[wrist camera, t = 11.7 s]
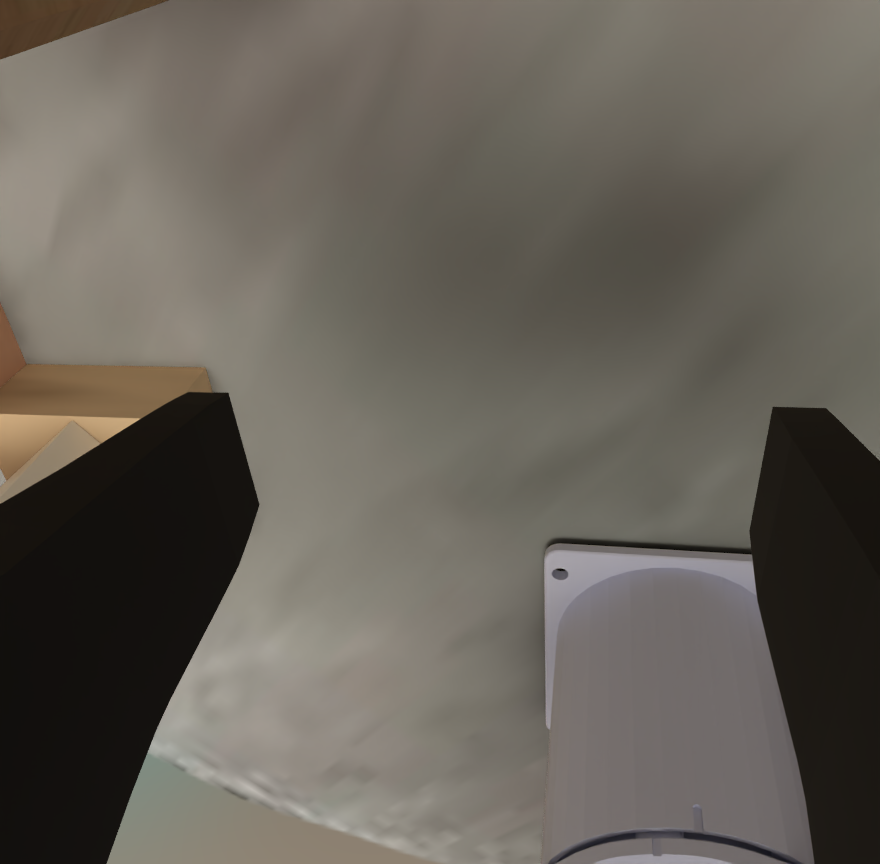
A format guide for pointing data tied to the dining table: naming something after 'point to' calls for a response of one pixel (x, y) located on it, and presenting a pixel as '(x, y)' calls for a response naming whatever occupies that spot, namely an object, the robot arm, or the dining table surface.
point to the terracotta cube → (8, 351)
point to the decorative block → (56, 19)
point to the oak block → (83, 402)
